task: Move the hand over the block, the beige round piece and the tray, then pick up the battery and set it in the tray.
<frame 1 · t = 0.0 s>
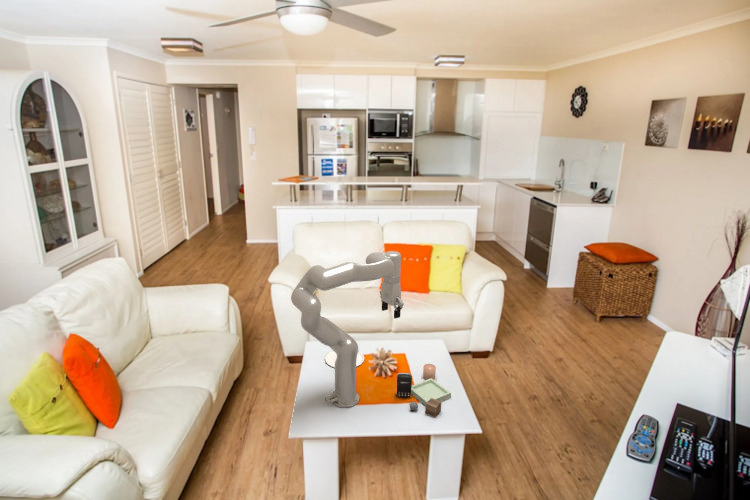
hand: (390, 313, 203), 37 cm above the table, tool pointing down, fingers open, 9 cm apart
block: (433, 412, 193), on the table
tray: (429, 394, 206), on the table
plate: (344, 360, 235), on the table
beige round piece: (429, 377, 219), on the table
ball: (413, 409, 195), on the table
battery: (403, 396, 204), on the table
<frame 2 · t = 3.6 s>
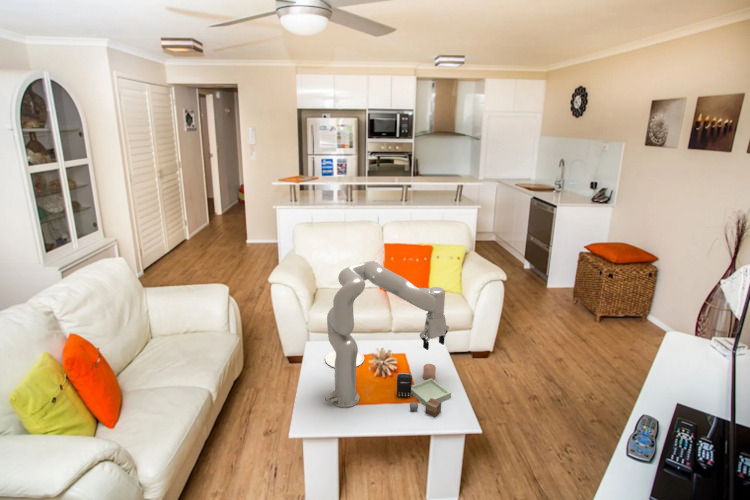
hand: (433, 346, 212), 18 cm above the table, tool pointing down, fingers open, 9 cm apart
nothing on the table moved.
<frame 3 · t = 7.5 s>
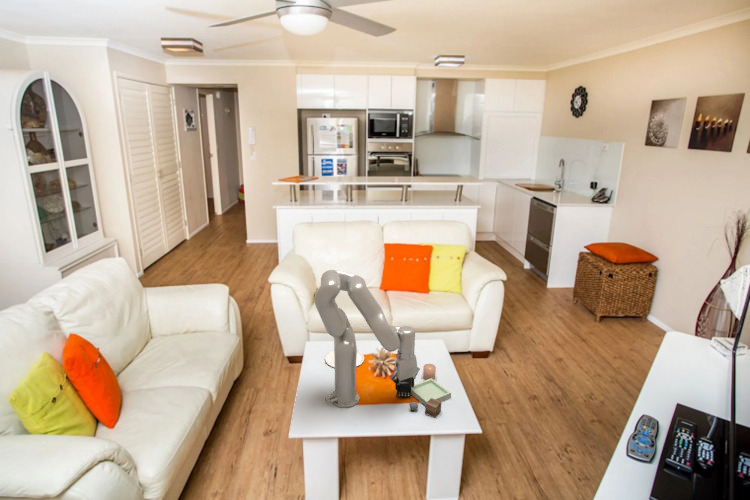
hand: (404, 388, 203), 4 cm above the table, tool pointing down, fingers closed on battery, 6 cm apart
battery: (403, 396, 204), on the table, touching gripper
everything else where it was.
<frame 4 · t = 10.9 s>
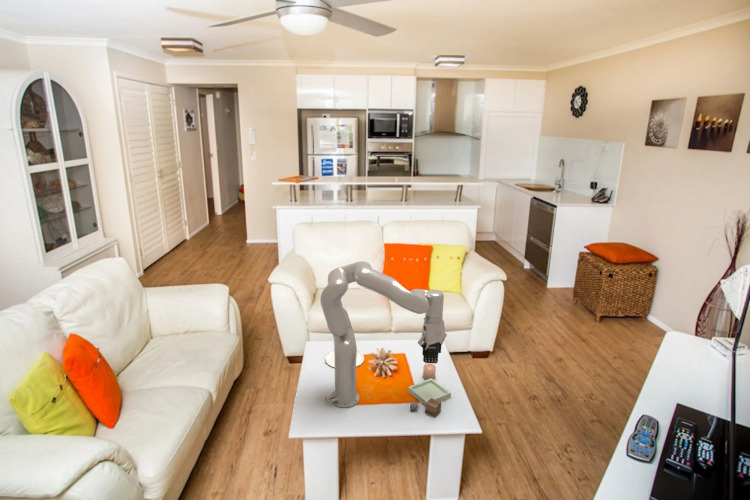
hand: (431, 353, 200), 21 cm above the table, tool pointing down, fingers closed on battery, 6 cm apart
battery: (430, 362, 201), point 17 cm above the table, touching gripper
everything else where it was.
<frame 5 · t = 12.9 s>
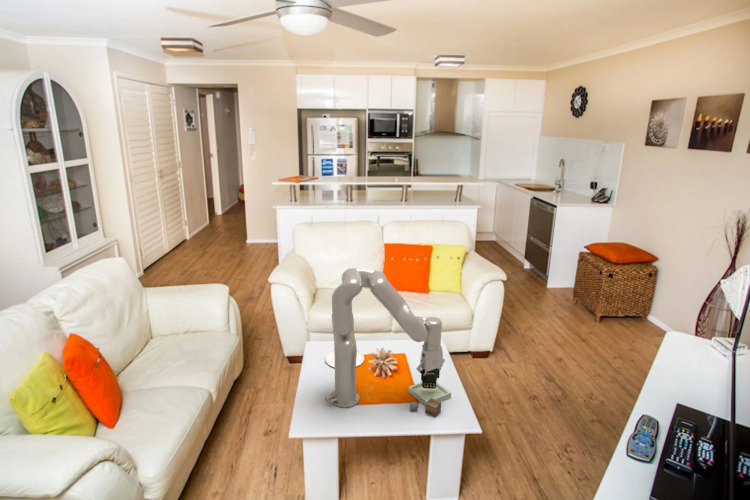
hand: (430, 379, 203), 8 cm above the table, tool pointing down, fingers closed on battery, 6 cm apart
battery: (429, 387, 205), point 4 cm above the table, touching gripper
everything else where it was.
when the fingers open (7 cm above the table, at t = 14.3 s): battery drops 1 cm, resting on tray.
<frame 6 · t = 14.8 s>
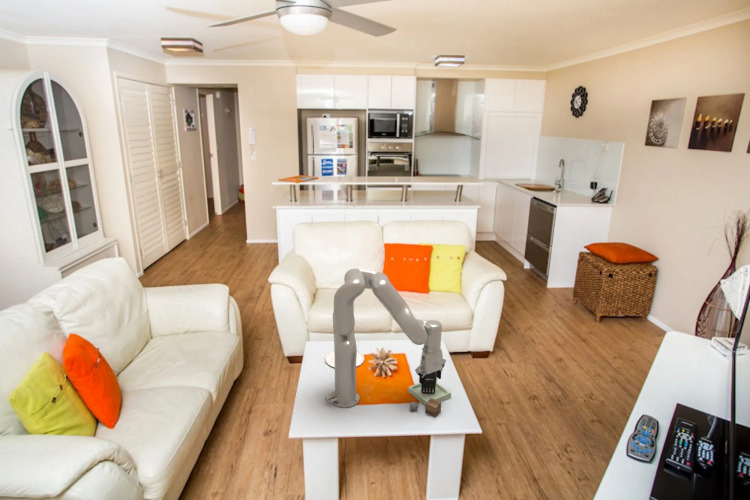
hand: (430, 380, 204), 7 cm above the table, tool pointing down, fingers open, 9 cm apart
battery: (428, 392, 205), point 1 cm above the table, touching tray
everything else where it was.
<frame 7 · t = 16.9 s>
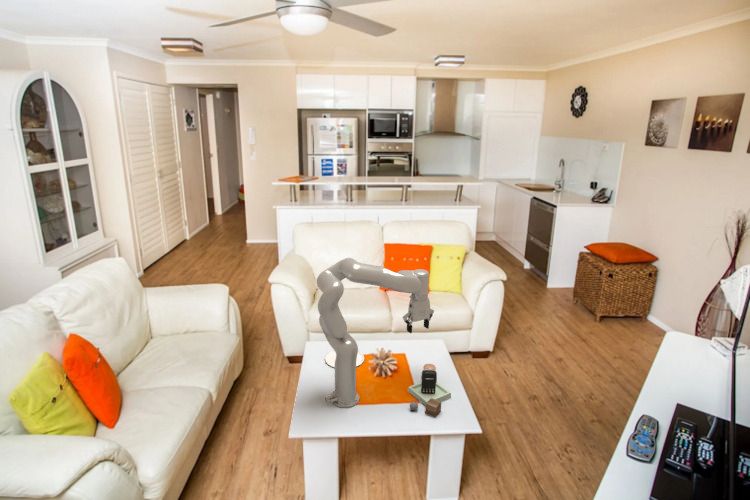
hand: (417, 329, 209), 27 cm above the table, tool pointing down, fingers open, 9 cm apart
nothing on the table moved.
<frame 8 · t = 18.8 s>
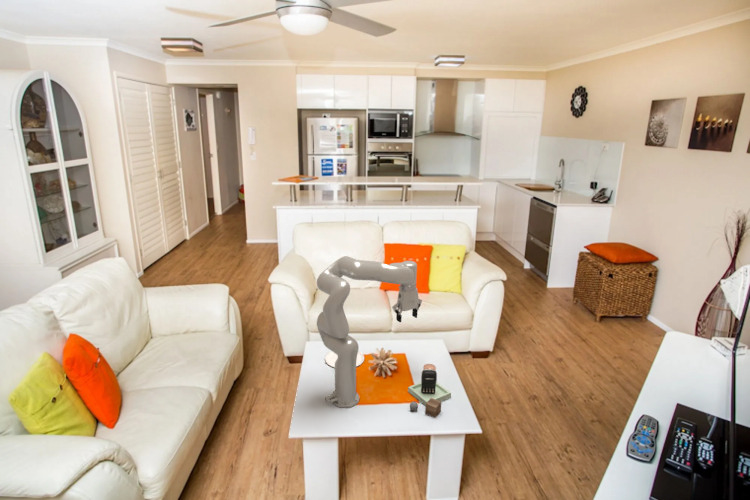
hand: (406, 319, 218), 28 cm above the table, tool pointing down, fingers open, 9 cm apart
nothing on the table moved.
at the end: battery inside the target area on the tray (0.5 cm from its centre), point 0.8 cm above the tray's base; battery tilted 0°; the gripper is holding nothing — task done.
